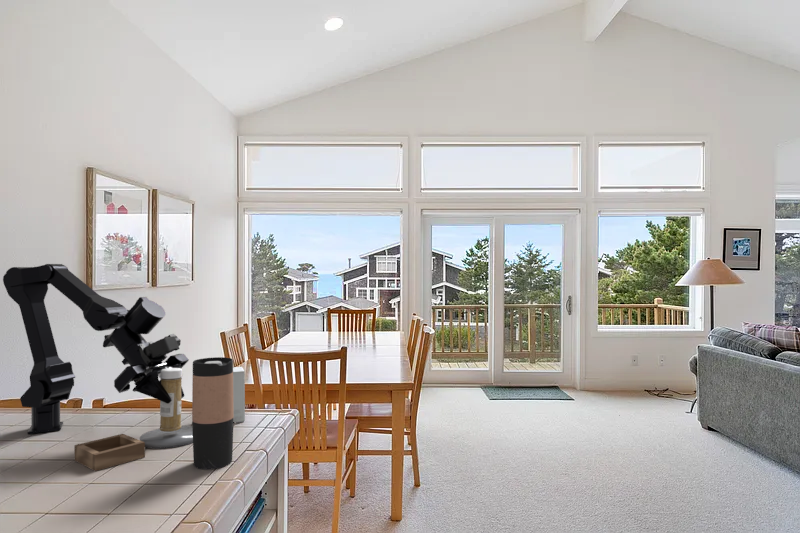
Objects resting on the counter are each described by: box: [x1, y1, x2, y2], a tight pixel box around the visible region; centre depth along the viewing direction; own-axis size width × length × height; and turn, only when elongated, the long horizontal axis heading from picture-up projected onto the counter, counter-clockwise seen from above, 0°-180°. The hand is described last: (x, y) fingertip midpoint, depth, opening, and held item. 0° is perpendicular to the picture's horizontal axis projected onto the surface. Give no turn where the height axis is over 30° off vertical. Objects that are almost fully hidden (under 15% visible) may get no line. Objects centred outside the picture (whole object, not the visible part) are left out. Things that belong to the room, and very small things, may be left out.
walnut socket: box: [73, 433, 146, 472], centre depth 107 cm, size 9×9×3 cm
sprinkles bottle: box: [159, 368, 184, 432], centre depth 120 cm, size 5×5×13 cm
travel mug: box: [191, 356, 234, 470], centre depth 105 cm, size 8×8×20 cm
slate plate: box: [139, 425, 193, 449], centre depth 120 cm, size 13×13×1 cm
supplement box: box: [233, 366, 246, 423], centre depth 135 cm, size 7×7×13 cm
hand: (176, 399), depth 119 cm, fingers closed on sprinkles bottle, 4 cm apart
